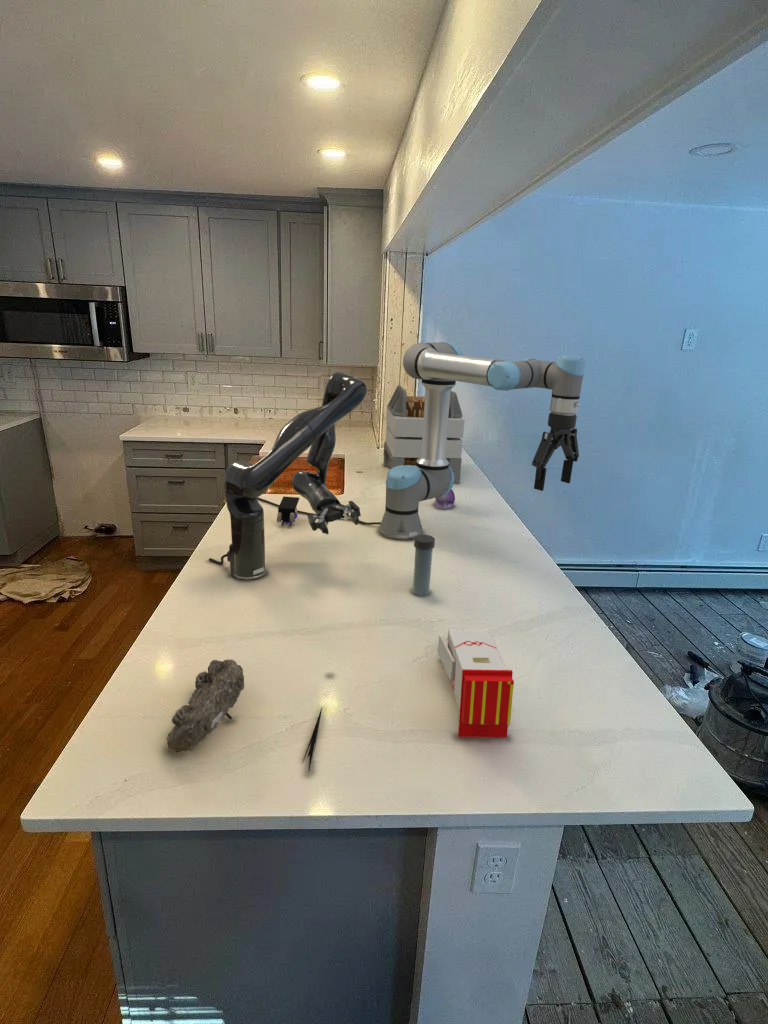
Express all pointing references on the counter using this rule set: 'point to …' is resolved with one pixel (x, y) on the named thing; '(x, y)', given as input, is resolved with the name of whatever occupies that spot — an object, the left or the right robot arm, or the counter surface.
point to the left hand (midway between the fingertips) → (342, 526)
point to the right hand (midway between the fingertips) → (552, 485)
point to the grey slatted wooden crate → (419, 431)
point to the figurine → (445, 500)
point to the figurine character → (287, 510)
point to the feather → (313, 740)
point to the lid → (424, 542)
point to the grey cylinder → (422, 571)
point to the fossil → (206, 705)
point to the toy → (478, 682)
